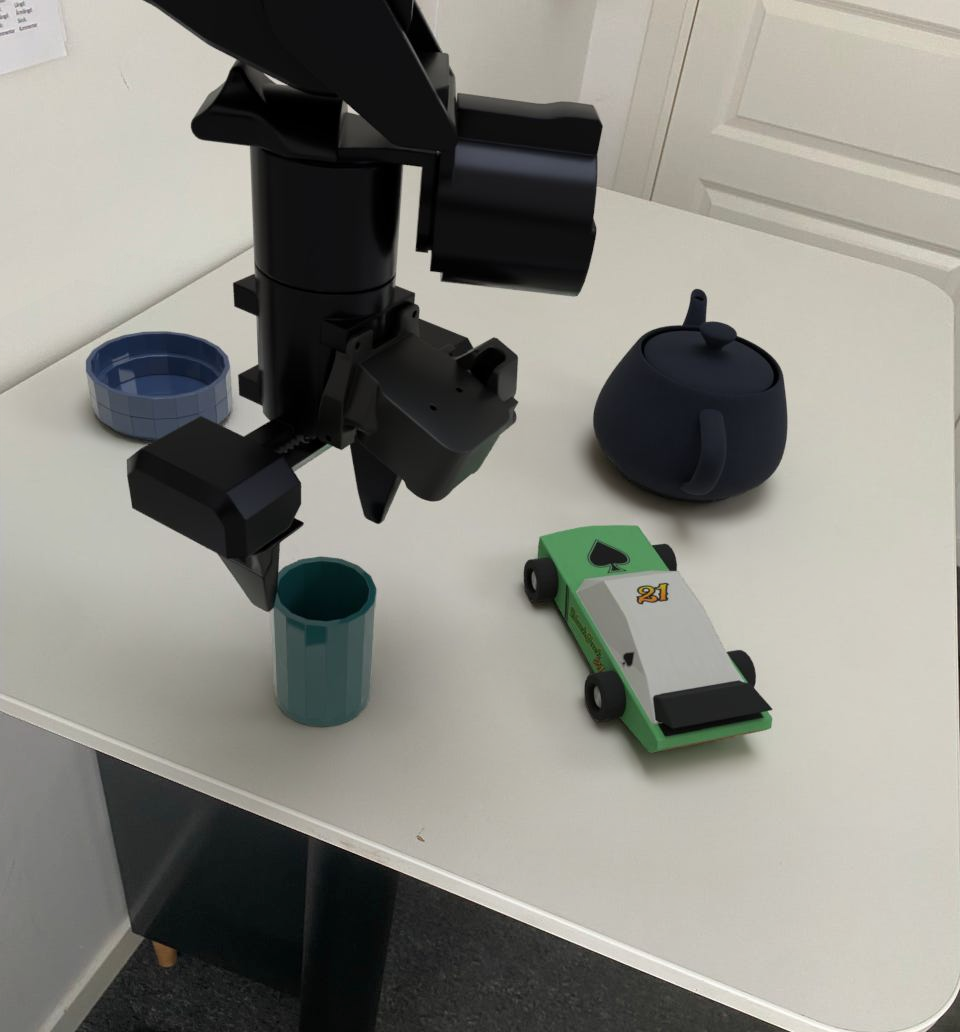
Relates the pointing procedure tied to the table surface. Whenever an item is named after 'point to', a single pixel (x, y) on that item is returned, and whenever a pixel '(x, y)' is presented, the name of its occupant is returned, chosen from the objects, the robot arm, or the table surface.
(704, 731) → the toy car
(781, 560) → the table surface
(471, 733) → the table surface
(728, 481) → the teapot
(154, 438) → the bowl
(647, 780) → the table surface
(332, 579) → the cup
